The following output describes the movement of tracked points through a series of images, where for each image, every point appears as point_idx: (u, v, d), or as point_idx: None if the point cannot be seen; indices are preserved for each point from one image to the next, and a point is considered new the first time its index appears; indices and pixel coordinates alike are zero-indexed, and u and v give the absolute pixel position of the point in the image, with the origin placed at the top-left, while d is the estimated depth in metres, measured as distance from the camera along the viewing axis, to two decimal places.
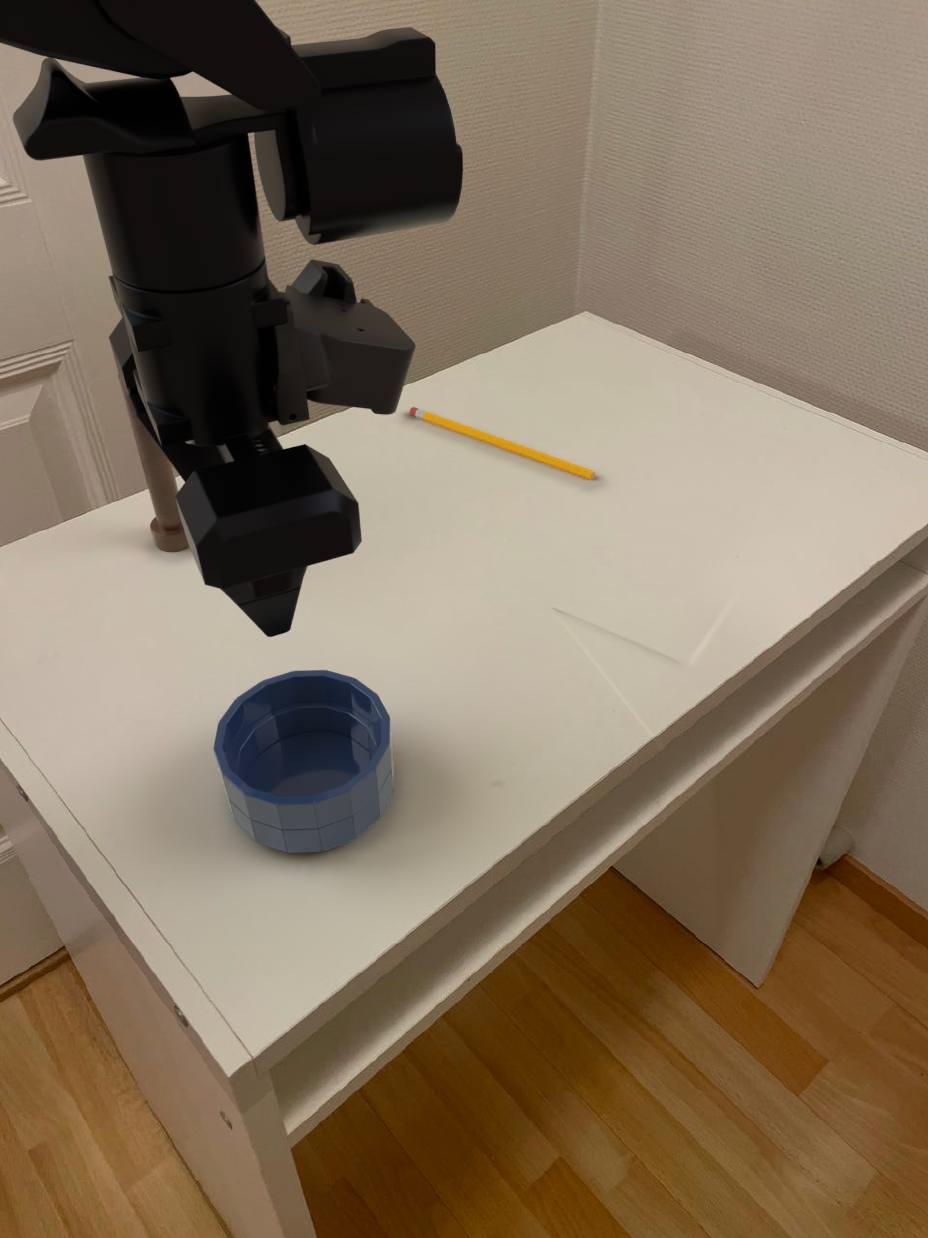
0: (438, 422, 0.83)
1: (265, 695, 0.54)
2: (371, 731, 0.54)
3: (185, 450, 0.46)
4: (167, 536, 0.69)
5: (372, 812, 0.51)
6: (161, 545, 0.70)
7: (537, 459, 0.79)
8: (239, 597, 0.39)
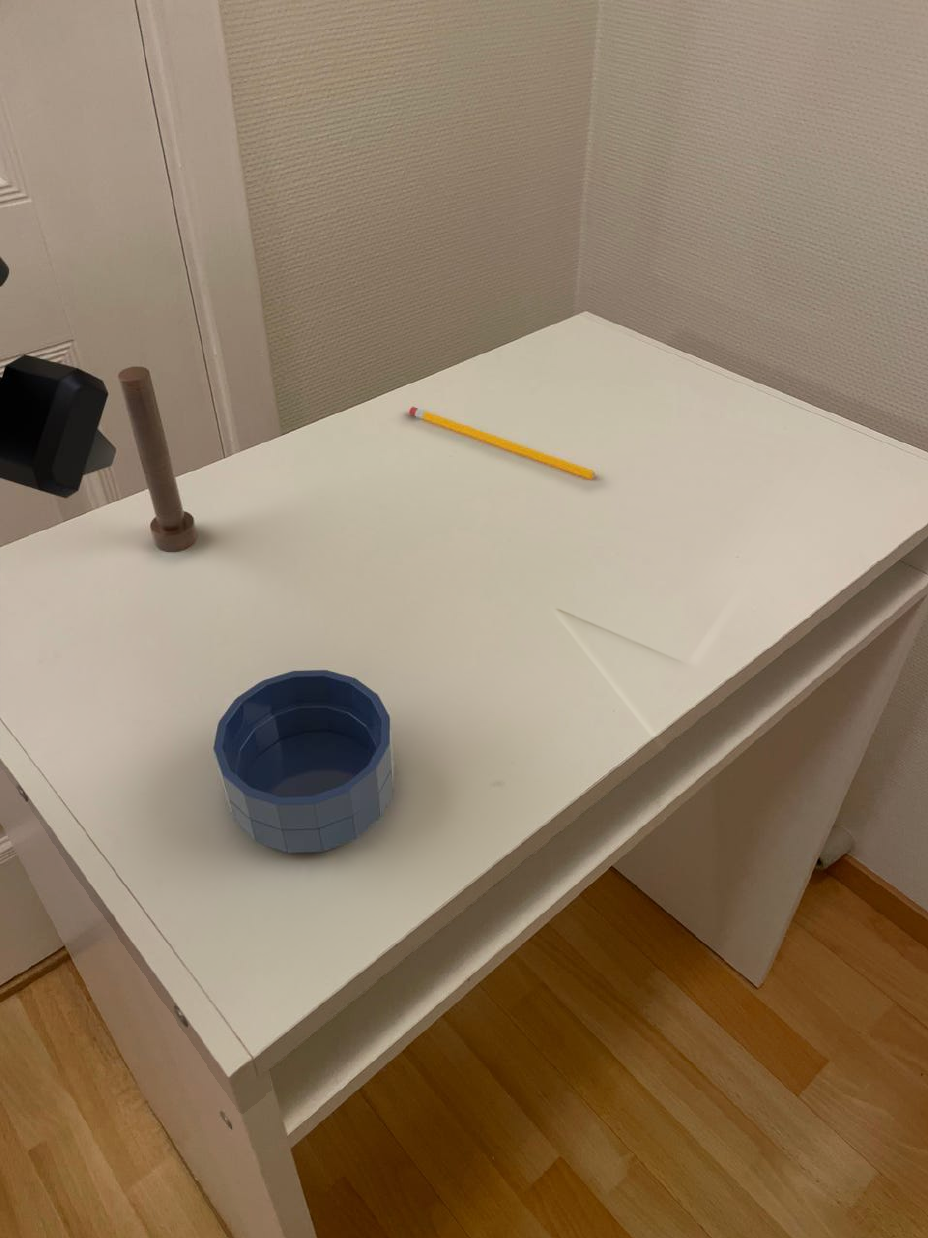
0: (438, 422, 0.83)
1: (265, 695, 0.54)
2: (371, 731, 0.54)
3: None
4: (167, 536, 0.69)
5: (372, 812, 0.51)
6: (161, 545, 0.70)
7: (537, 459, 0.79)
8: None
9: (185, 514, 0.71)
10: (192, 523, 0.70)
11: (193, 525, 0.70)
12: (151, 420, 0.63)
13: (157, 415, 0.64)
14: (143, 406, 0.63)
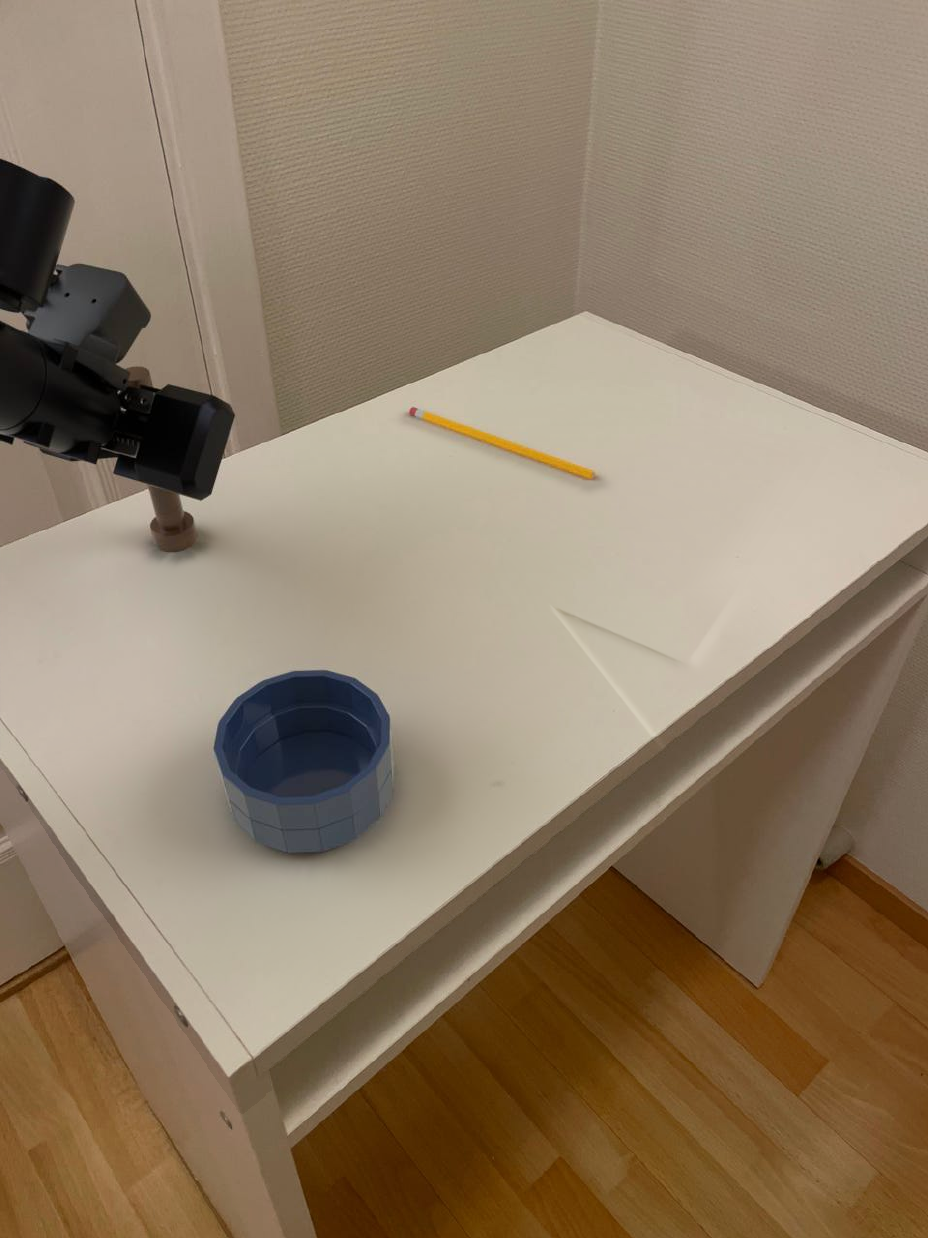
0: (438, 422, 0.83)
1: (265, 695, 0.54)
2: (371, 731, 0.54)
3: None
4: (167, 536, 0.69)
5: (372, 812, 0.51)
6: (161, 545, 0.70)
7: (537, 459, 0.79)
8: None
9: (185, 514, 0.71)
10: (192, 523, 0.70)
11: (193, 525, 0.70)
12: None
13: None
14: None
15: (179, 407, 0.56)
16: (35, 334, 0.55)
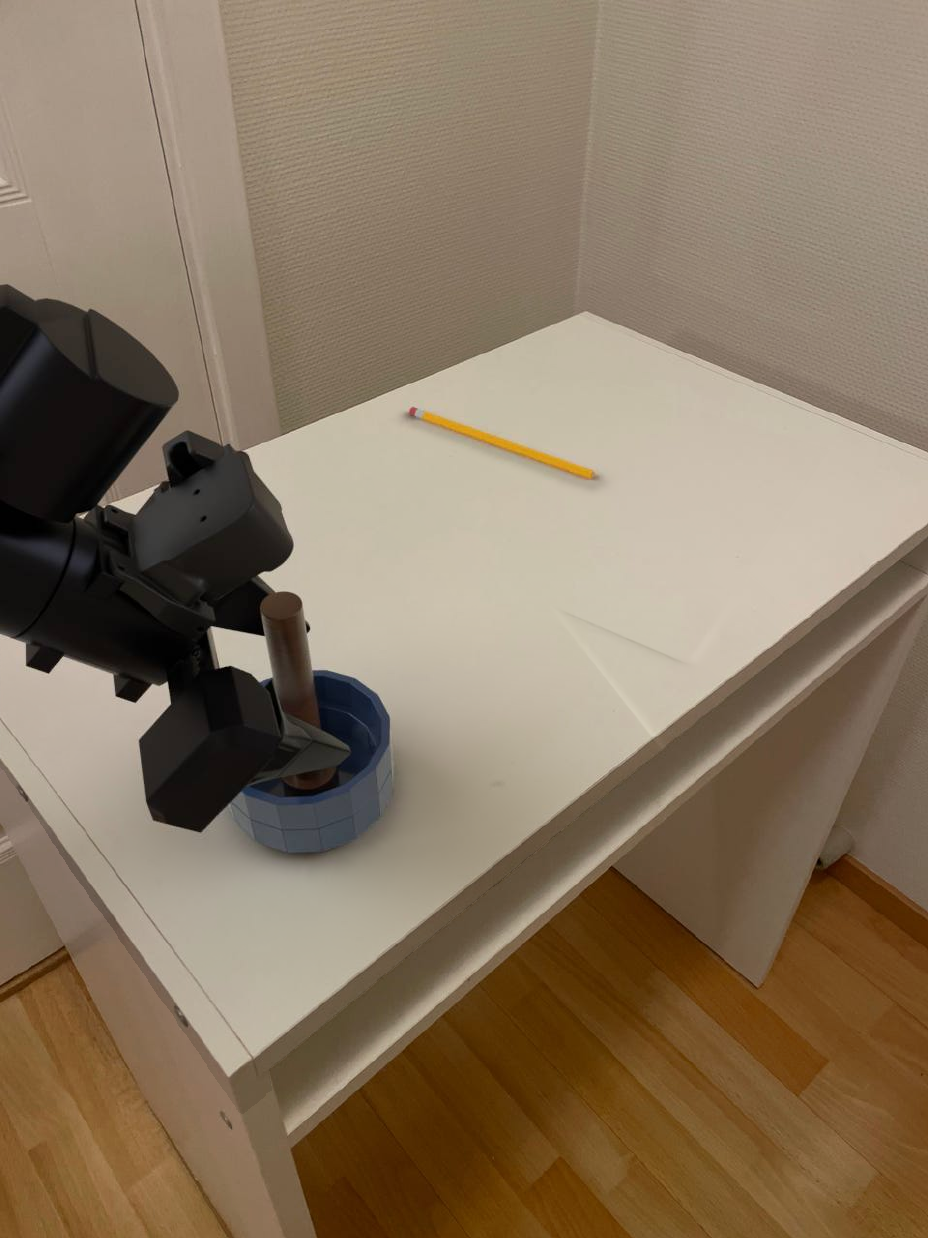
0: (438, 422, 0.83)
1: None
2: (371, 731, 0.54)
3: (223, 614, 0.50)
4: (285, 782, 0.52)
5: (372, 812, 0.51)
6: None
7: (537, 459, 0.79)
8: (267, 777, 0.43)
9: None
10: (324, 783, 0.52)
11: (324, 785, 0.52)
12: (284, 665, 0.46)
13: (296, 662, 0.46)
14: (276, 647, 0.45)
15: (199, 713, 0.37)
16: (135, 524, 0.41)
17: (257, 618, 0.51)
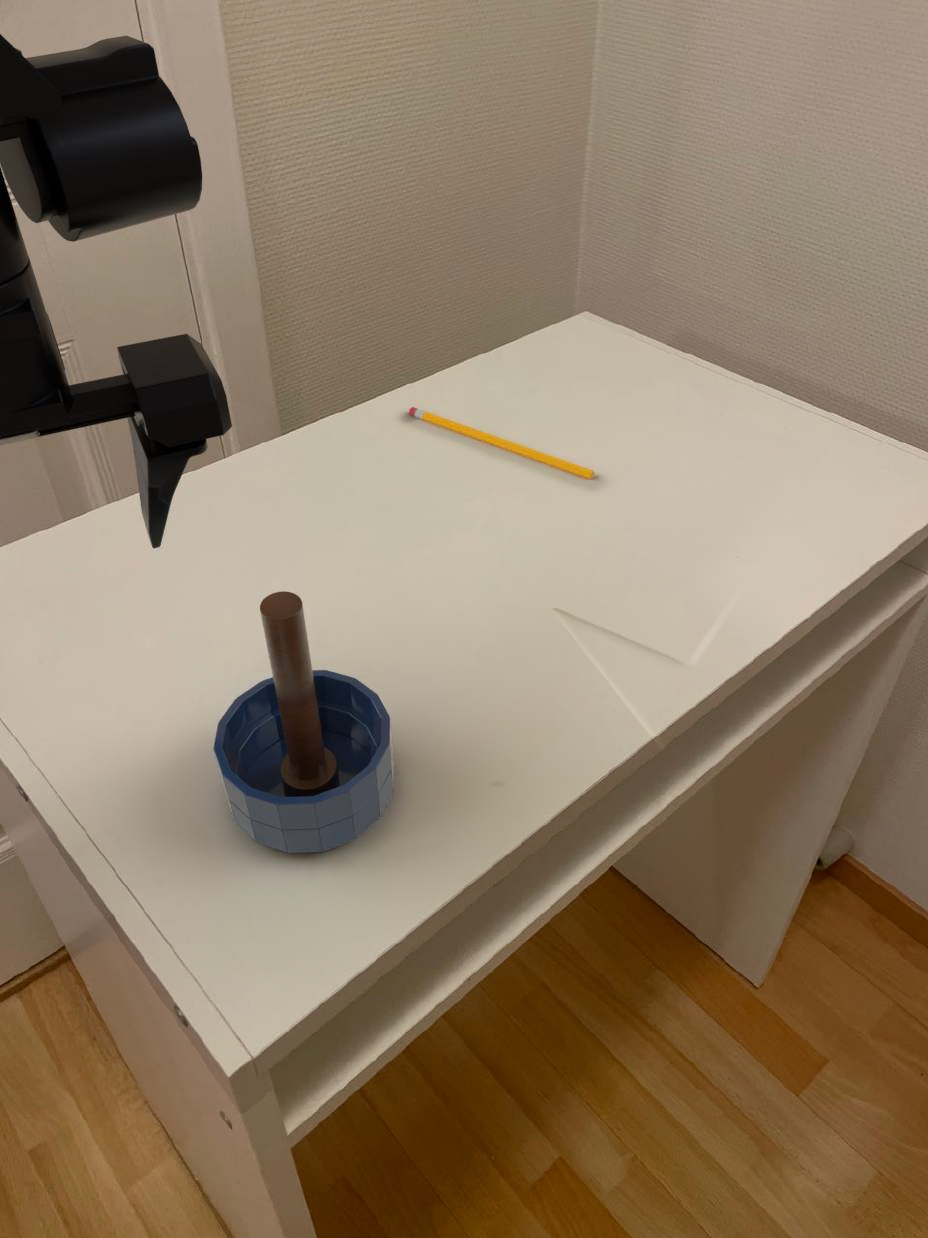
0: (438, 422, 0.83)
1: (265, 695, 0.54)
2: (371, 731, 0.54)
3: None
4: (285, 782, 0.52)
5: (372, 812, 0.51)
6: None
7: (537, 459, 0.79)
8: None
9: (331, 764, 0.53)
10: (324, 783, 0.52)
11: (324, 785, 0.52)
12: (284, 665, 0.46)
13: (296, 662, 0.46)
14: (276, 647, 0.45)
15: (159, 342, 0.45)
16: None
17: None
